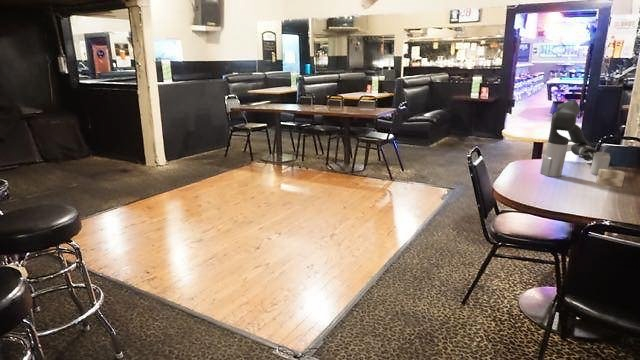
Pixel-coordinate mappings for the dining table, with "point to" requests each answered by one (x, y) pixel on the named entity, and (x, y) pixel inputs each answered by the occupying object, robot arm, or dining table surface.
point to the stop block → (610, 177)
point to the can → (600, 162)
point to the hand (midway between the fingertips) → (595, 159)
